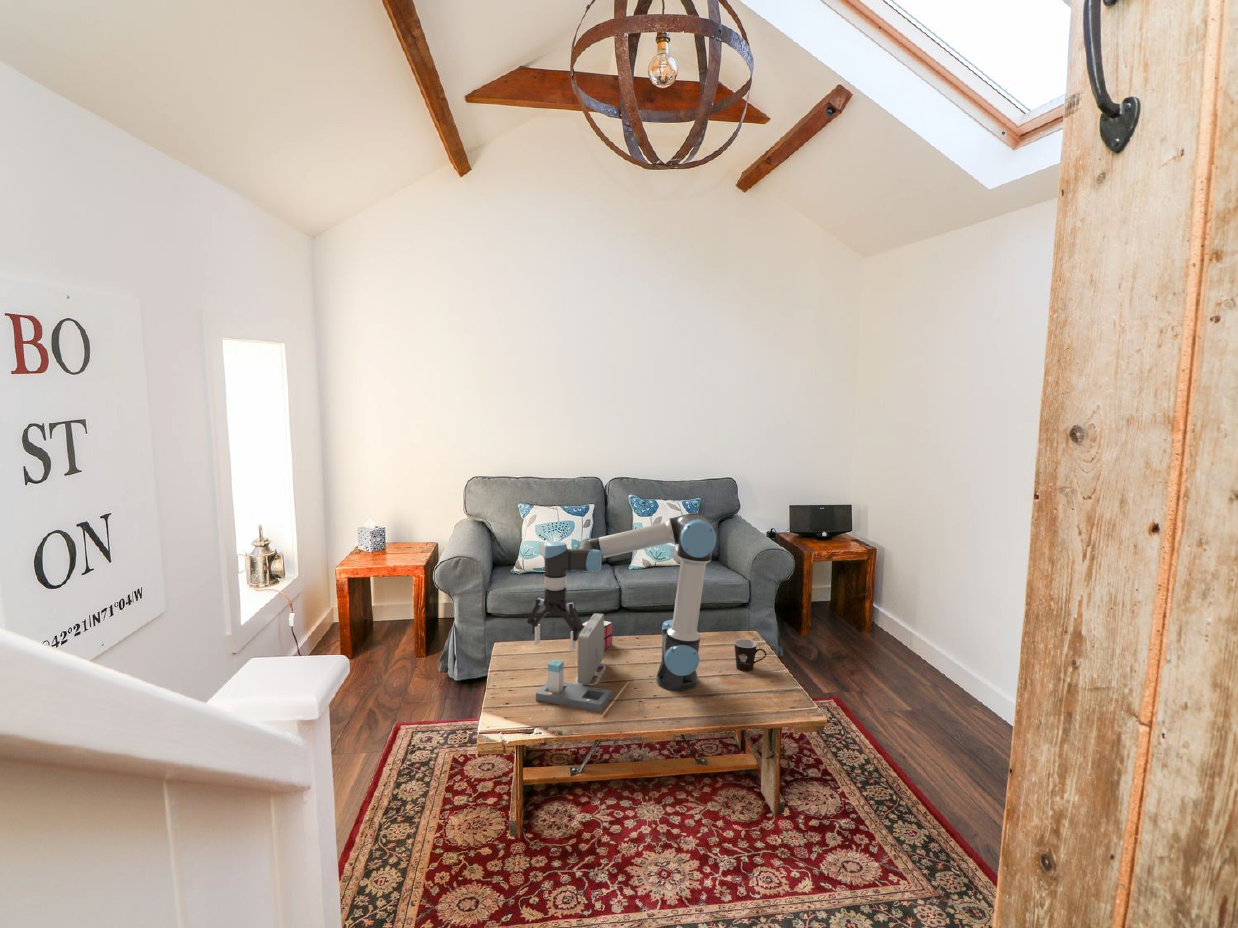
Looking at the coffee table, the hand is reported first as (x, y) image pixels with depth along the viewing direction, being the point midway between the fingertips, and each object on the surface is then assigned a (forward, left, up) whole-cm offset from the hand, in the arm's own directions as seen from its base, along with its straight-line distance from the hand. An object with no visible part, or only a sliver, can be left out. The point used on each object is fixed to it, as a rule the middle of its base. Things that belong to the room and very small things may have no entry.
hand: (554, 646), depth 233 cm
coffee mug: (-60, -47, -19) cm, 78 cm away
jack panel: (-7, 0, -19) cm, 20 cm away
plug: (0, 0, -18) cm, 18 cm away
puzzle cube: (+3, -47, -19) cm, 50 cm away
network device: (-5, -21, -19) cm, 28 cm away
